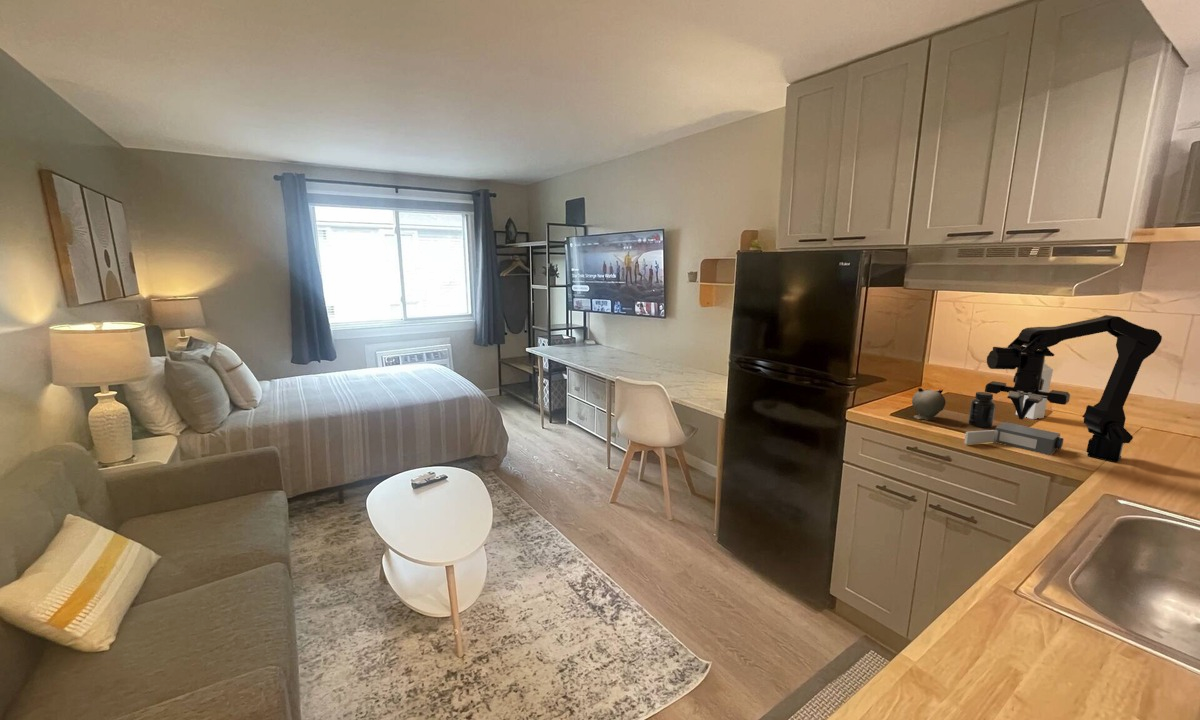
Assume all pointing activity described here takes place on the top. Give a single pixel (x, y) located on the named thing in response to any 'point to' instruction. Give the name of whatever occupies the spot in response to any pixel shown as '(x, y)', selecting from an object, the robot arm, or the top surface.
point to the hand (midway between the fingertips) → (1021, 419)
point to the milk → (1039, 408)
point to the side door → (979, 437)
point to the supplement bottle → (982, 410)
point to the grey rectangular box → (1028, 438)
